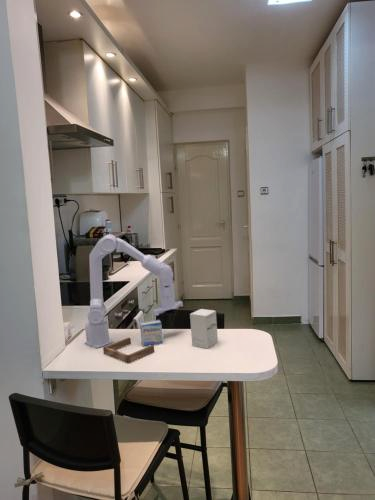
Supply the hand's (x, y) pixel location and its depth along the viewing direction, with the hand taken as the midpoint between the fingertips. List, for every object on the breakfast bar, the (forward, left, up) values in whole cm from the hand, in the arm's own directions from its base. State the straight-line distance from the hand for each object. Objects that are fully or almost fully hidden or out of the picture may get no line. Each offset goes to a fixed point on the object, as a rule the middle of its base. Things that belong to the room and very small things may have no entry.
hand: (170, 327), depth 167 cm
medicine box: (0, -10, -4) cm, 11 cm away
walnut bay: (0, -22, -3) cm, 22 cm away
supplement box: (+18, +1, -4) cm, 18 cm away
